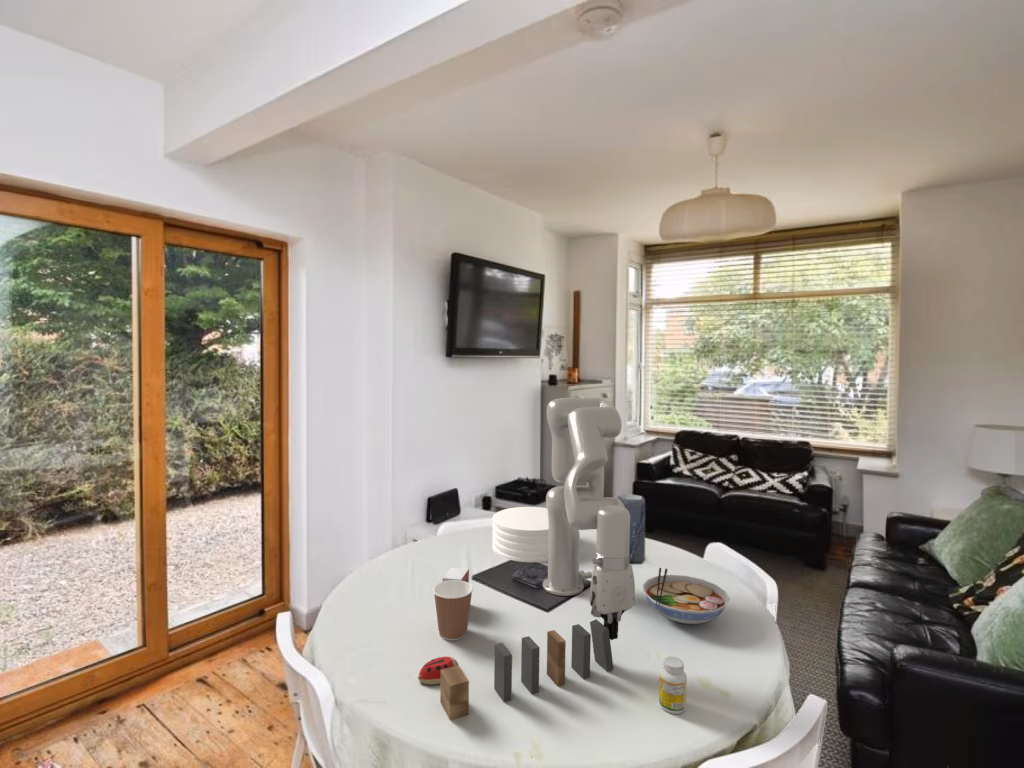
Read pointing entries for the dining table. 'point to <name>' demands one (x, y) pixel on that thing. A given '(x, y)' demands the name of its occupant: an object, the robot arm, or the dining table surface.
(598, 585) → the robot arm
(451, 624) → the coffee cup
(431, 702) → the dining table surface
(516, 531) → the plate stack
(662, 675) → the supplement bottle
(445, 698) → the end block
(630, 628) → the dining table surface
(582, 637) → the domino
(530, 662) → the domino
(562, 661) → the domino
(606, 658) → the domino
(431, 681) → the ladybug figurine
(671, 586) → the ramen bowl
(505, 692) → the domino
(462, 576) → the small box
